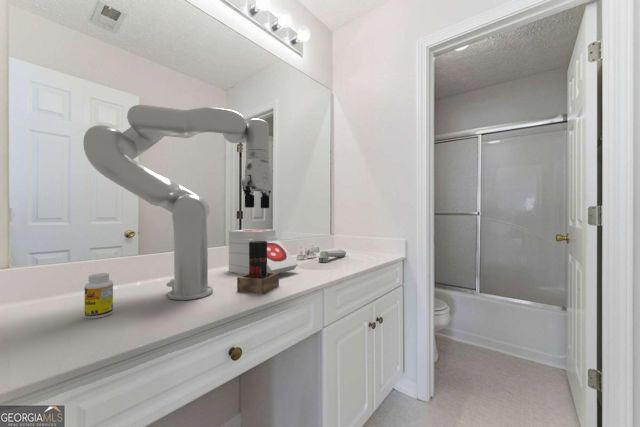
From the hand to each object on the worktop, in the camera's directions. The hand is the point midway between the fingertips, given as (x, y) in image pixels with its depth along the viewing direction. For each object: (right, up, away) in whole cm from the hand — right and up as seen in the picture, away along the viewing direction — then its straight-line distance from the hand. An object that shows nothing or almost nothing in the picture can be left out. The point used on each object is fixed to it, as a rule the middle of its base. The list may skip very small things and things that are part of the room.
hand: (257, 207), depth 91 cm
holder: (0, -27, 0) cm, 27 cm away
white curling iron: (+28, -28, +58) cm, 70 cm away
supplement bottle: (-35, -28, -23) cm, 50 cm away
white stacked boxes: (-5, -28, +27) cm, 39 cm away
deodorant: (0, -27, 0) cm, 27 cm away
